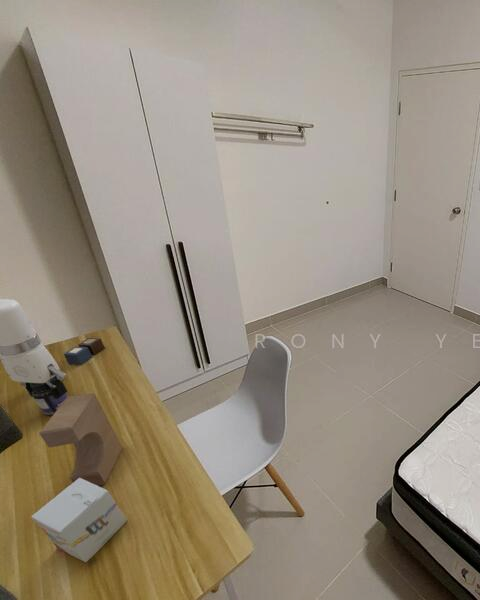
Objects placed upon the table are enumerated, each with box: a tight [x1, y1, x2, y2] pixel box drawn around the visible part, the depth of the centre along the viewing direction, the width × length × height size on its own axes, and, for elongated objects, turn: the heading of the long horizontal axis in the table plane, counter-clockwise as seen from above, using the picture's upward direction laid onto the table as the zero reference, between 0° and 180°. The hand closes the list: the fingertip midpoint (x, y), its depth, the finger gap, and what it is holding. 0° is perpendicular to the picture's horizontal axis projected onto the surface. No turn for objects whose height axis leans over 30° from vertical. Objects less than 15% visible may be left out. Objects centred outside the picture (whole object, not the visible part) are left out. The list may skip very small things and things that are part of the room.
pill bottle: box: [30, 378, 70, 417], centre depth 95 cm, size 6×6×11 cm
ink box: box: [30, 478, 128, 563], centre depth 67 cm, size 9×9×12 cm
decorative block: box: [38, 392, 123, 487], centre depth 78 cm, size 11×6×20 cm, turn 16°
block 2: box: [77, 337, 106, 356], centre depth 121 cm, size 4×4×5 cm
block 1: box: [63, 346, 93, 366], centre depth 116 cm, size 4×4×5 cm
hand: (49, 393), depth 95 cm, fingers closed on pill bottle, 6 cm apart
